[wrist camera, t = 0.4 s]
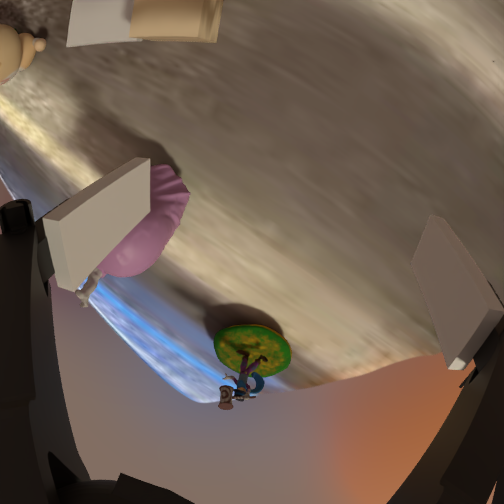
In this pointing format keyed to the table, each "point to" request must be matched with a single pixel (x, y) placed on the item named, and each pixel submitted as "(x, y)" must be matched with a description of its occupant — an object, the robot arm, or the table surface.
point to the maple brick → (176, 20)
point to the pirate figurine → (249, 358)
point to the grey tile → (100, 22)
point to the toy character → (144, 231)
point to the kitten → (16, 51)
